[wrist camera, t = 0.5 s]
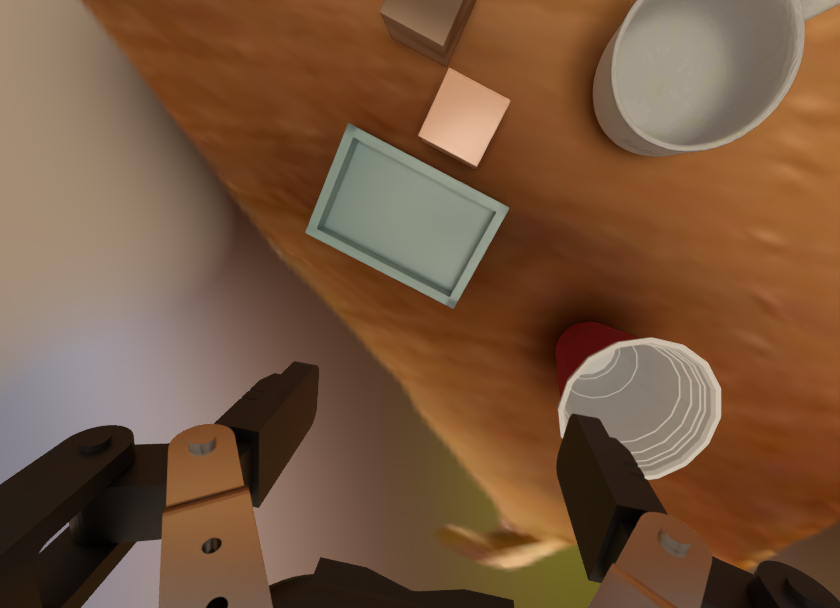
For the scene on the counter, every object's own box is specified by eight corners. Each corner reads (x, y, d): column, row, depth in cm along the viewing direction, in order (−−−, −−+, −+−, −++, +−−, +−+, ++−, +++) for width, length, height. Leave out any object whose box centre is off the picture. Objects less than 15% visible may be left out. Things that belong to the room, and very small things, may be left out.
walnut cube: (419, -28, 30) (410, -69, 26) (475, 2, 31) (477, -33, 26) (392, 38, 32) (379, 12, 27) (446, 67, 32) (442, 46, 27)
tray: (356, 127, 34) (348, 123, 32) (506, 206, 35) (509, 207, 32) (315, 230, 37) (305, 232, 35) (454, 301, 38) (453, 308, 35)
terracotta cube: (451, 85, 32) (449, 67, 28) (504, 113, 33) (510, 100, 28) (424, 143, 34) (418, 135, 29) (475, 169, 34) (476, 166, 29)
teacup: (589, 176, 33) (626, 172, 26) (567, 37, 30) (601, -14, 23) (770, 125, 31) (872, 104, 23) (764, -31, 28) (876, -113, 20)
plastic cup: (671, 352, 37) (765, 426, 25) (576, 416, 40) (622, 508, 28) (599, 269, 35) (664, 307, 24) (507, 342, 38) (525, 407, 27)
